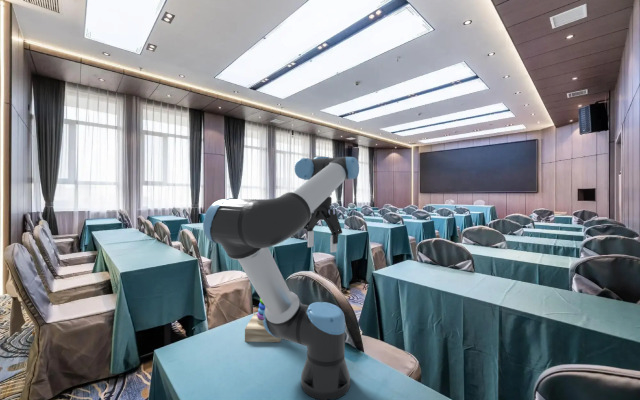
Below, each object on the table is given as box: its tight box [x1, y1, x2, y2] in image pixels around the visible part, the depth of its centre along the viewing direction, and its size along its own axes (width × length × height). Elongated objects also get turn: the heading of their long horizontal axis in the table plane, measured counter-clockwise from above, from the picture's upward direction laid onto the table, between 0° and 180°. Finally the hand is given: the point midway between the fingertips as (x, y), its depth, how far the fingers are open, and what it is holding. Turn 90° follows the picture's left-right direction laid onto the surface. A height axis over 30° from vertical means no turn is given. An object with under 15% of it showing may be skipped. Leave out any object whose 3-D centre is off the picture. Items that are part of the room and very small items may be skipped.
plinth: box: [244, 313, 282, 343], centre depth 116 cm, size 14×14×5 cm
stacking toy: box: [256, 297, 265, 325], centre depth 116 cm, size 8×8×19 cm
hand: (321, 249), depth 110 cm, fingers open, 13 cm apart
